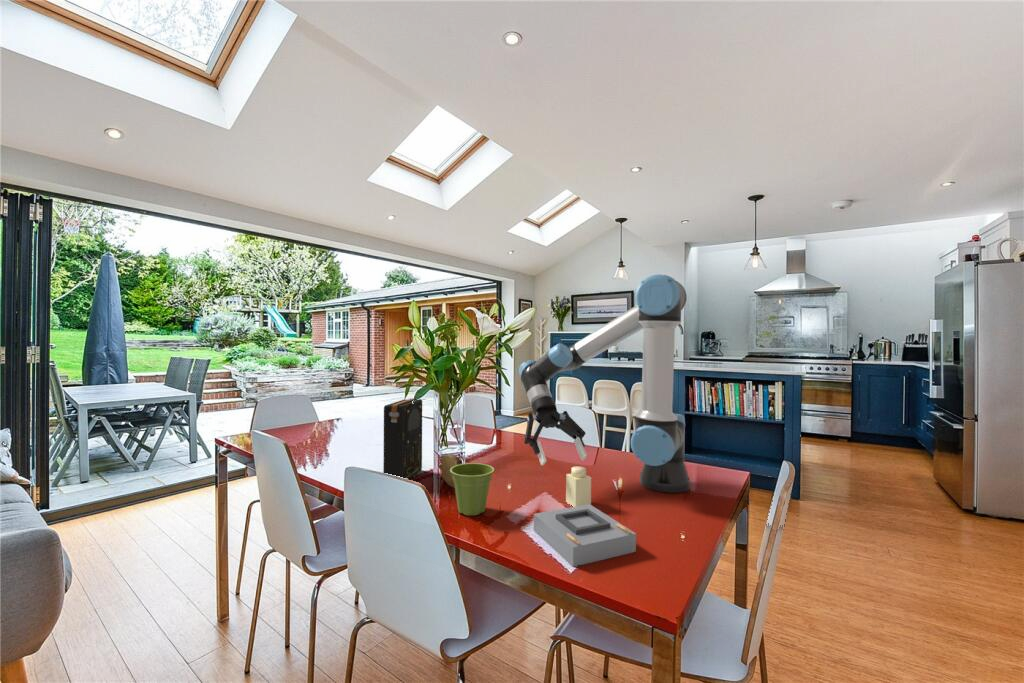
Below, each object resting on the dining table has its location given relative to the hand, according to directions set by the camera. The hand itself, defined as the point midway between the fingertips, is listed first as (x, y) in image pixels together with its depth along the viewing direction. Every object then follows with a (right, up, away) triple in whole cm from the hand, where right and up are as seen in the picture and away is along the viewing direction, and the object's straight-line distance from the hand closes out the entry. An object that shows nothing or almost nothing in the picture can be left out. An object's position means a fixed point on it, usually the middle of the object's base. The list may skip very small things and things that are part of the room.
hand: (564, 460), depth 127 cm
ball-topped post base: (+1, -11, -27) cm, 29 cm away
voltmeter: (-52, -10, +18) cm, 55 cm away
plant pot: (-26, -11, -11) cm, 30 cm away
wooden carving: (-33, -11, +8) cm, 36 cm away
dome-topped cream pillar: (+3, -11, -5) cm, 12 cm away
